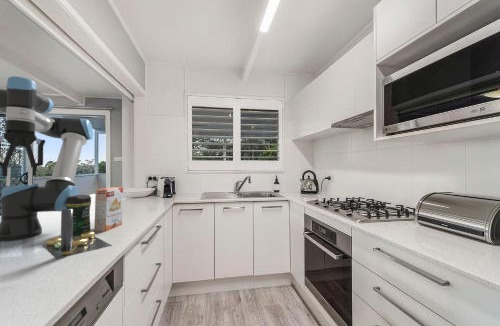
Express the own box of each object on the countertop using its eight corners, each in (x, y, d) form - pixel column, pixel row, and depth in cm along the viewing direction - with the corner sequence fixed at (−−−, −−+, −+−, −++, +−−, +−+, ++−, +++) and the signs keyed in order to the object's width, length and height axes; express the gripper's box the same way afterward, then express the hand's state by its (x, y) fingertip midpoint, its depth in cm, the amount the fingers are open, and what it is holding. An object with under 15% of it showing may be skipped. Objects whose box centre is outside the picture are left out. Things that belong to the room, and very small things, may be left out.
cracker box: (106, 233, 109) (107, 189, 110) (93, 233, 109) (94, 189, 110) (123, 226, 123) (123, 186, 124) (111, 226, 123) (112, 186, 124)
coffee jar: (78, 238, 101) (79, 196, 102) (60, 238, 102) (61, 196, 102) (94, 232, 111) (94, 193, 111) (78, 232, 111) (78, 193, 112)
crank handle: (70, 242, 93) (70, 203, 93) (90, 240, 96) (91, 202, 96) (51, 257, 77) (52, 210, 77) (77, 254, 80) (77, 209, 80)
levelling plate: (41, 247, 90) (41, 239, 90) (92, 237, 104) (92, 230, 104) (56, 261, 77) (56, 252, 77) (112, 248, 90) (112, 240, 90)
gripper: (-16, 115, 75) (-19, 187, 74) (55, 123, 89) (54, 184, 88) (-18, 118, 79) (-20, 186, 79) (50, 125, 93) (49, 183, 93)
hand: (19, 185), depth 83 cm, fingers open, 5 cm apart
